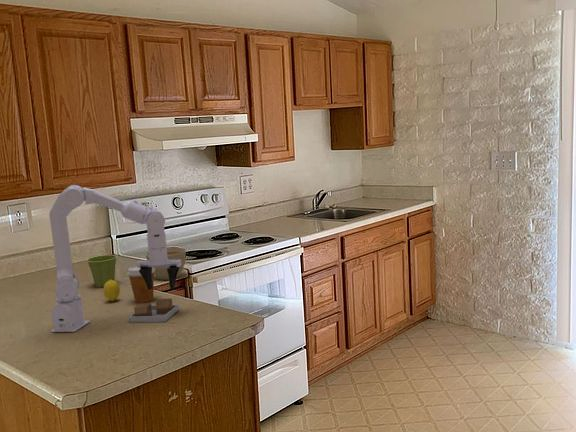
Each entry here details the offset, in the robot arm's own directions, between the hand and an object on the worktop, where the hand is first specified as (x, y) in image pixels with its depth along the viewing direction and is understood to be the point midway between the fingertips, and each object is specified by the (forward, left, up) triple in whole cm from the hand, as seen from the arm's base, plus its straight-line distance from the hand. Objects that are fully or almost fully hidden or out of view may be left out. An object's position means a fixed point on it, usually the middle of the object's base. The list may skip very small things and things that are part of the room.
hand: (161, 288), depth 186 cm
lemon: (+15, +25, -8) cm, 30 cm away
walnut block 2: (-1, -1, -8) cm, 8 cm away
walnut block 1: (-6, +4, -8) cm, 11 cm away
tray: (-3, +2, -8) cm, 9 cm away
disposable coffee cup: (+15, +13, -8) cm, 21 cm away
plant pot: (+38, +40, -8) cm, 56 cm away
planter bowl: (+48, +17, -8) cm, 51 cm away
